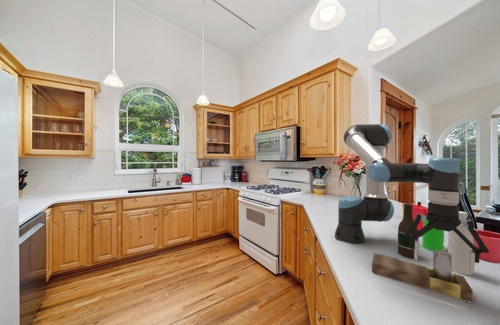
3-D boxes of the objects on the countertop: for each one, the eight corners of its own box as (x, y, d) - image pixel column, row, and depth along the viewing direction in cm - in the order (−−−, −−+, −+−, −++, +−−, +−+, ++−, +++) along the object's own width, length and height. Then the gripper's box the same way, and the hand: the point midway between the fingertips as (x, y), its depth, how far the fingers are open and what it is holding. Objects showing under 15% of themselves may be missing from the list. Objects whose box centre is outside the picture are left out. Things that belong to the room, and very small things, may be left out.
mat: (372, 261, 83) (372, 260, 83) (374, 253, 90) (374, 252, 90) (398, 268, 78) (399, 267, 78) (398, 259, 85) (398, 258, 85)
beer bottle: (413, 261, 83) (414, 206, 83) (393, 253, 90) (394, 202, 90) (422, 257, 87) (422, 204, 87) (402, 250, 94) (402, 201, 94)
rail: (371, 273, 74) (372, 262, 74) (373, 263, 81) (373, 253, 81) (472, 303, 59) (472, 290, 59) (463, 287, 66) (463, 276, 66)
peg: (434, 288, 65) (434, 253, 65) (431, 282, 69) (432, 248, 69) (453, 294, 63) (453, 257, 63) (449, 287, 66) (450, 252, 66)
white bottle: (476, 277, 72) (477, 211, 72) (451, 272, 75) (452, 208, 75) (467, 268, 78) (468, 207, 78) (444, 264, 81) (445, 205, 81)
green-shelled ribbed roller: (450, 253, 91) (451, 215, 91) (430, 251, 93) (431, 214, 93) (436, 245, 100) (436, 211, 100) (418, 243, 102) (418, 210, 102)
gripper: (397, 199, 70) (396, 257, 70) (506, 211, 55) (504, 284, 56) (396, 197, 76) (396, 250, 76) (495, 206, 61) (493, 272, 62)
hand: (441, 264), depth 66 cm, fingers open, 13 cm apart
